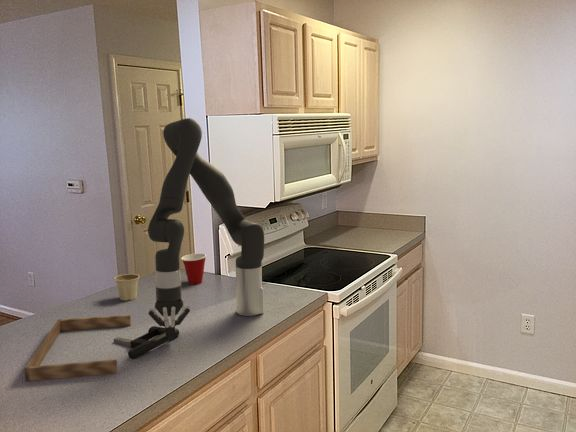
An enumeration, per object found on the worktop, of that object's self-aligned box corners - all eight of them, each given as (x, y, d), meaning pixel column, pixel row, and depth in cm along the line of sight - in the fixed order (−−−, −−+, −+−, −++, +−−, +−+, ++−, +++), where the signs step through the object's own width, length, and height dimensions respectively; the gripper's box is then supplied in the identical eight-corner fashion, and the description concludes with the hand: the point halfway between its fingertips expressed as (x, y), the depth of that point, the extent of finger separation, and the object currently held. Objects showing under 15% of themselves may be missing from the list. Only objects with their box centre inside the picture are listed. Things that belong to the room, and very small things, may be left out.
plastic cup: (181, 280, 225) (180, 253, 223) (206, 278, 228) (205, 252, 226) (182, 287, 215) (181, 259, 213) (208, 285, 217) (207, 257, 215)
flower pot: (118, 294, 205) (117, 274, 204) (142, 294, 206) (141, 273, 204) (113, 302, 196) (111, 280, 194) (138, 301, 197) (136, 280, 195)
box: (130, 324, 174) (130, 314, 173) (116, 373, 139) (115, 360, 138) (58, 329, 169) (58, 319, 169) (25, 381, 134) (24, 368, 134)
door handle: (98, 343, 154) (137, 351, 146) (146, 321, 171) (183, 328, 163) (99, 354, 154) (138, 362, 146) (147, 331, 171) (184, 337, 164)
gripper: (190, 279, 160) (191, 331, 163) (146, 281, 157) (149, 334, 160) (190, 286, 153) (192, 340, 156) (144, 288, 150) (147, 344, 153)
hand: (170, 337), depth 158 cm, fingers closed
